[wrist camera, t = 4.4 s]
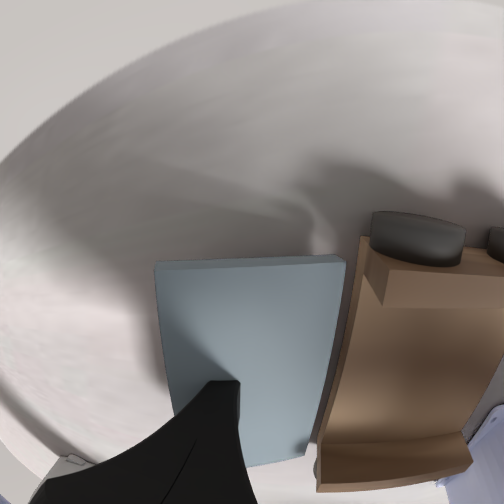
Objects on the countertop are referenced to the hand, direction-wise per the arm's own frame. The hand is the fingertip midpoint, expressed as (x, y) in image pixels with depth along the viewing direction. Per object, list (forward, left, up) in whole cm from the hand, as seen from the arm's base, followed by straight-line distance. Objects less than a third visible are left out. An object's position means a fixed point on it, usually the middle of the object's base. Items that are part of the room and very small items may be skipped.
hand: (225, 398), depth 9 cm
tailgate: (0, -4, -2) cm, 4 cm away
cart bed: (0, -8, -3) cm, 9 cm away
